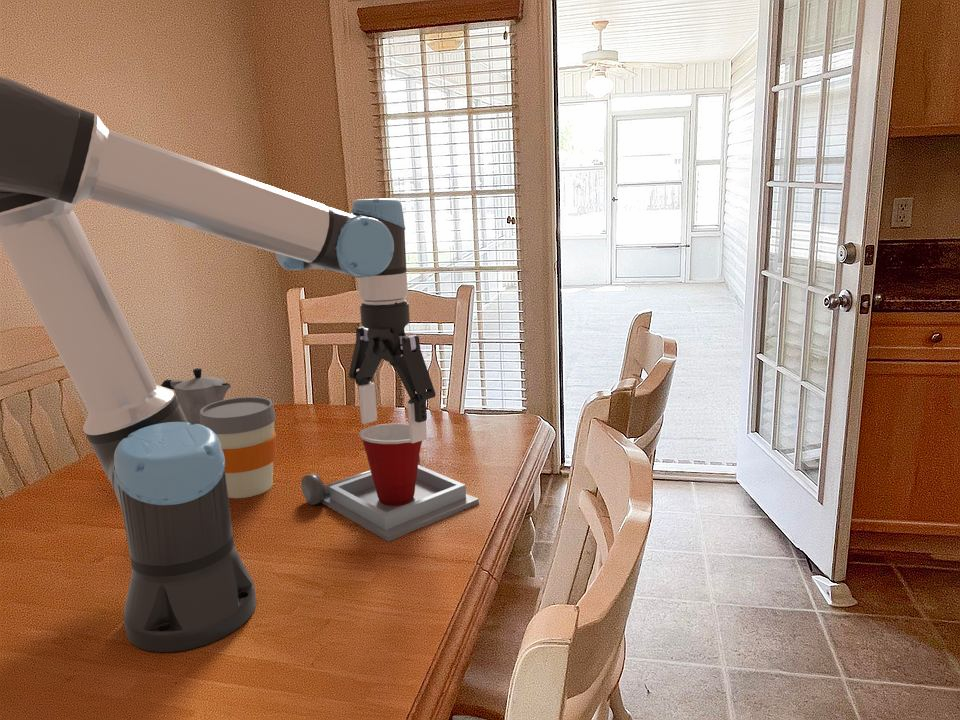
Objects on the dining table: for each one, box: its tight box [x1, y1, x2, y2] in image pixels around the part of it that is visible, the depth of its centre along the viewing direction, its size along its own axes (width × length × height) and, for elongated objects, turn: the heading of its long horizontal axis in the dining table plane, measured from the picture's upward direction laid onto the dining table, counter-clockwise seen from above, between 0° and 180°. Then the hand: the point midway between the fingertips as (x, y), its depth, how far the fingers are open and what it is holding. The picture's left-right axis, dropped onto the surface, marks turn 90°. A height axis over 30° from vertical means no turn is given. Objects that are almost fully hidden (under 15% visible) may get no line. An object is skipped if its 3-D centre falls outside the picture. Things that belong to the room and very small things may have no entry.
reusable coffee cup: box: [200, 396, 277, 499], centre depth 125 cm, size 13×12×15 cm
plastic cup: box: [358, 423, 423, 506], centre depth 117 cm, size 11×11×12 cm
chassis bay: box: [300, 455, 480, 543], centre depth 119 cm, size 21×23×5 cm
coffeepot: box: [160, 367, 232, 425], centre depth 142 cm, size 15×9×18 cm, turn 79°
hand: (392, 431), depth 116 cm, fingers open, 13 cm apart
